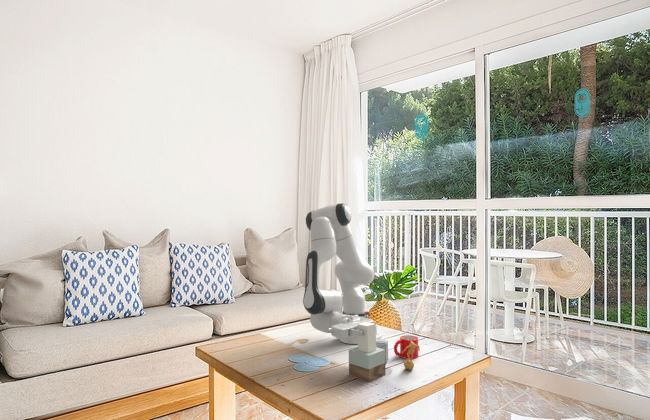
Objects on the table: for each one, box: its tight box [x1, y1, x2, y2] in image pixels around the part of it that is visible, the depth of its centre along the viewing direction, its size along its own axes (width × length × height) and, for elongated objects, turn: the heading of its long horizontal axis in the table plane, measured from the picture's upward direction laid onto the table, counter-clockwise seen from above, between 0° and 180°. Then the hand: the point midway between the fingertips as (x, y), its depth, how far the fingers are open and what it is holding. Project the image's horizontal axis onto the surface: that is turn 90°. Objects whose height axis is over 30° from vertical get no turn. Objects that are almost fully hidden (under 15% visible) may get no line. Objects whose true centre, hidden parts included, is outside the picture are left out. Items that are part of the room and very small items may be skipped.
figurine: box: [402, 341, 421, 371], centre depth 169 cm, size 8×6×12 cm
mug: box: [393, 334, 419, 360], centre depth 186 cm, size 8×12×8 cm, turn 119°
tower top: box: [348, 346, 386, 369], centre depth 164 cm, size 10×10×5 cm
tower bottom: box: [348, 362, 386, 383], centre depth 164 cm, size 10×10×5 cm
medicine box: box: [376, 338, 389, 364], centre depth 180 cm, size 8×4×9 cm, turn 71°
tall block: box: [357, 322, 377, 353], centre depth 164 cm, size 5×5×10 cm
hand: (368, 331), depth 163 cm, fingers open, 6 cm apart
